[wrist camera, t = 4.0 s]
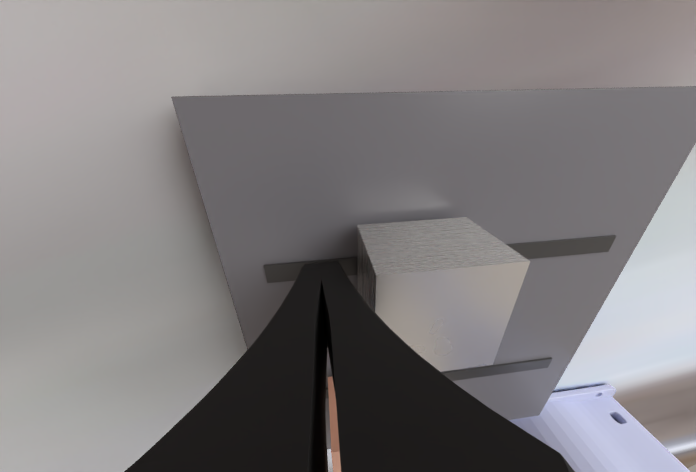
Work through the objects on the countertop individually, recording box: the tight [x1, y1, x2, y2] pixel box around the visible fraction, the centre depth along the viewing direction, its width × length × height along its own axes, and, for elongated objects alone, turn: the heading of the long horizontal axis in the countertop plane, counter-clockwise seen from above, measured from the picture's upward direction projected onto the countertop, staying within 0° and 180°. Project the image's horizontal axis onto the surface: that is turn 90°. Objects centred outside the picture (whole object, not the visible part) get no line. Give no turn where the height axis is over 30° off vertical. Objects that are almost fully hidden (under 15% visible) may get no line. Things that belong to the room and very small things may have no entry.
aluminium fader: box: [357, 217, 530, 372], centre depth 8 cm, size 4×4×3 cm
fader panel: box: [172, 86, 696, 449], centre depth 13 cm, size 18×20×2 cm
